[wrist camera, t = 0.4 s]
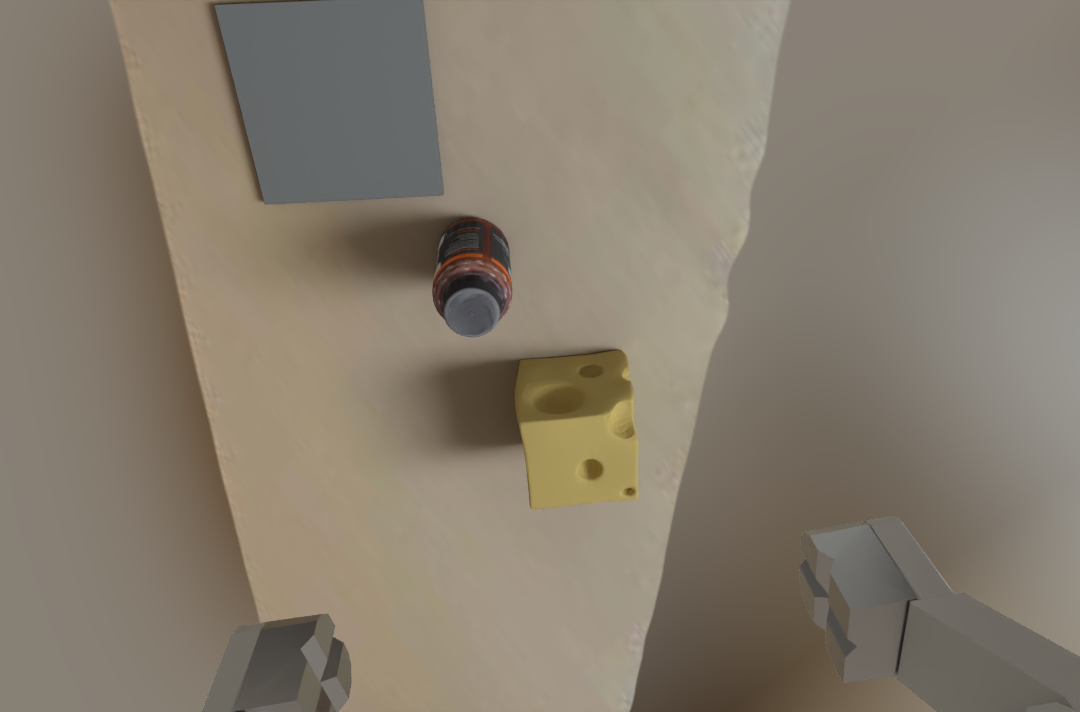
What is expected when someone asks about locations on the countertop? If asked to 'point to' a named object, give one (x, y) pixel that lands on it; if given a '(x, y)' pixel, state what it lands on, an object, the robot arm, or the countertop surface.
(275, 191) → the mat
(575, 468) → the cheese
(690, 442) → the countertop surface
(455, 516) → the countertop surface
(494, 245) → the supplement bottle
